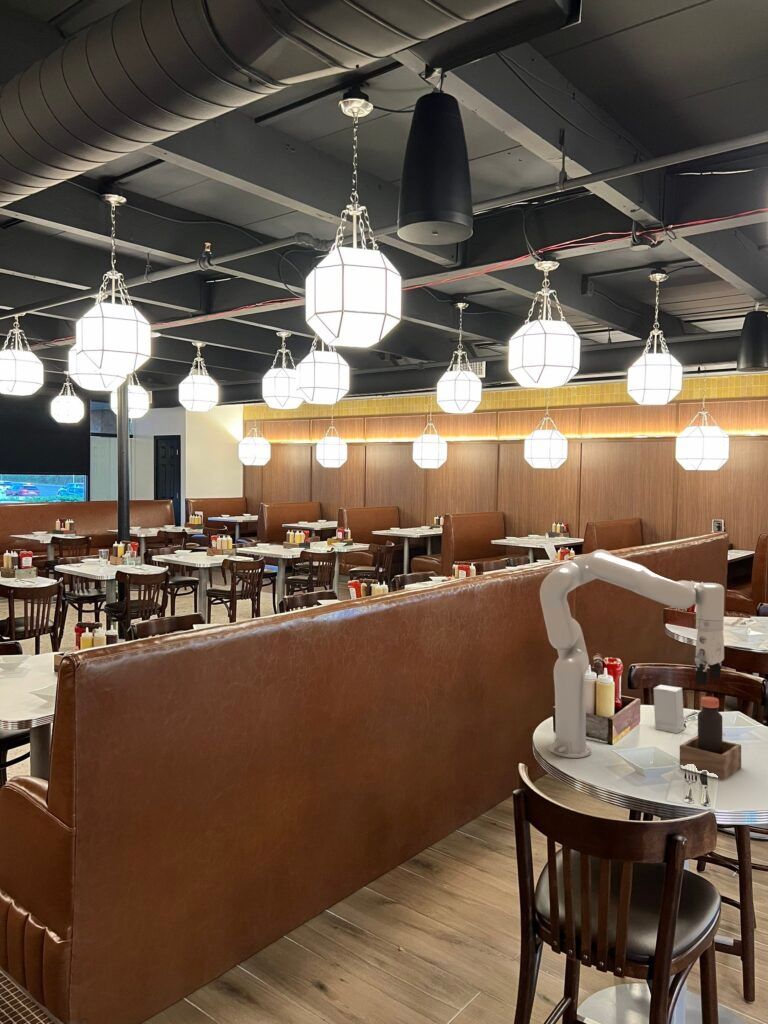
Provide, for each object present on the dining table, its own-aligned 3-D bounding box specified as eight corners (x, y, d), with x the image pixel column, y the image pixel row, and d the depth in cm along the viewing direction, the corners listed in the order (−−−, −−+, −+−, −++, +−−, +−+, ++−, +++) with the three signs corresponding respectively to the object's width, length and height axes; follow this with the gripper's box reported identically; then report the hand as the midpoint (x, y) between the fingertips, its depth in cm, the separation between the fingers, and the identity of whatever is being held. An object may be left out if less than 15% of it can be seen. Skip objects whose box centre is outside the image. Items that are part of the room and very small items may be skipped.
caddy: (723, 780, 215) (723, 756, 215) (679, 768, 225) (679, 745, 224) (741, 768, 224) (741, 744, 224) (698, 757, 234) (697, 735, 234)
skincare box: (684, 730, 260) (684, 687, 259) (676, 734, 255) (676, 691, 255) (661, 724, 266) (661, 683, 265) (653, 728, 262) (653, 686, 261)
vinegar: (712, 759, 229) (712, 694, 228) (727, 767, 222) (727, 700, 222) (693, 761, 227) (692, 696, 227) (707, 769, 221) (707, 702, 220)
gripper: (710, 630, 214) (709, 689, 215) (734, 622, 227) (732, 678, 227) (684, 626, 220) (683, 684, 221) (709, 619, 232) (707, 673, 233)
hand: (708, 681), depth 224 cm, fingers open, 9 cm apart
